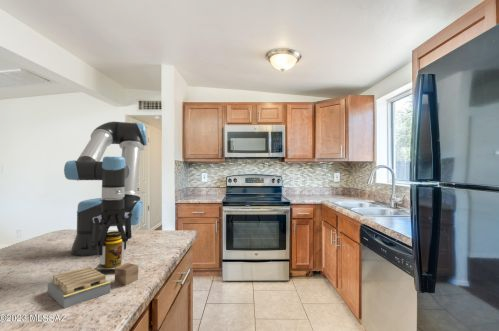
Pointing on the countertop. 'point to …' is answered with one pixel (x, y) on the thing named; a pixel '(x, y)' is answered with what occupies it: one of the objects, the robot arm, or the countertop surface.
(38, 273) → the countertop surface
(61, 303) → the dock
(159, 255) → the countertop surface
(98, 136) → the robot arm
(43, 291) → the countertop surface
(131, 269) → the brown cube
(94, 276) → the pallet
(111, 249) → the condiment
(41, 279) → the countertop surface
